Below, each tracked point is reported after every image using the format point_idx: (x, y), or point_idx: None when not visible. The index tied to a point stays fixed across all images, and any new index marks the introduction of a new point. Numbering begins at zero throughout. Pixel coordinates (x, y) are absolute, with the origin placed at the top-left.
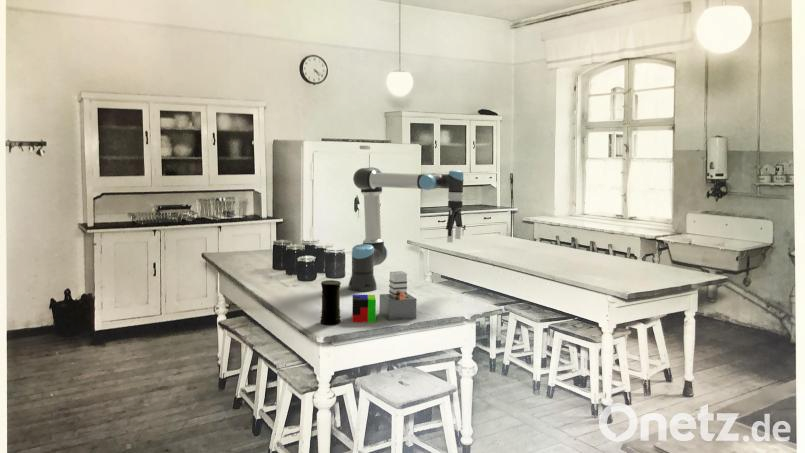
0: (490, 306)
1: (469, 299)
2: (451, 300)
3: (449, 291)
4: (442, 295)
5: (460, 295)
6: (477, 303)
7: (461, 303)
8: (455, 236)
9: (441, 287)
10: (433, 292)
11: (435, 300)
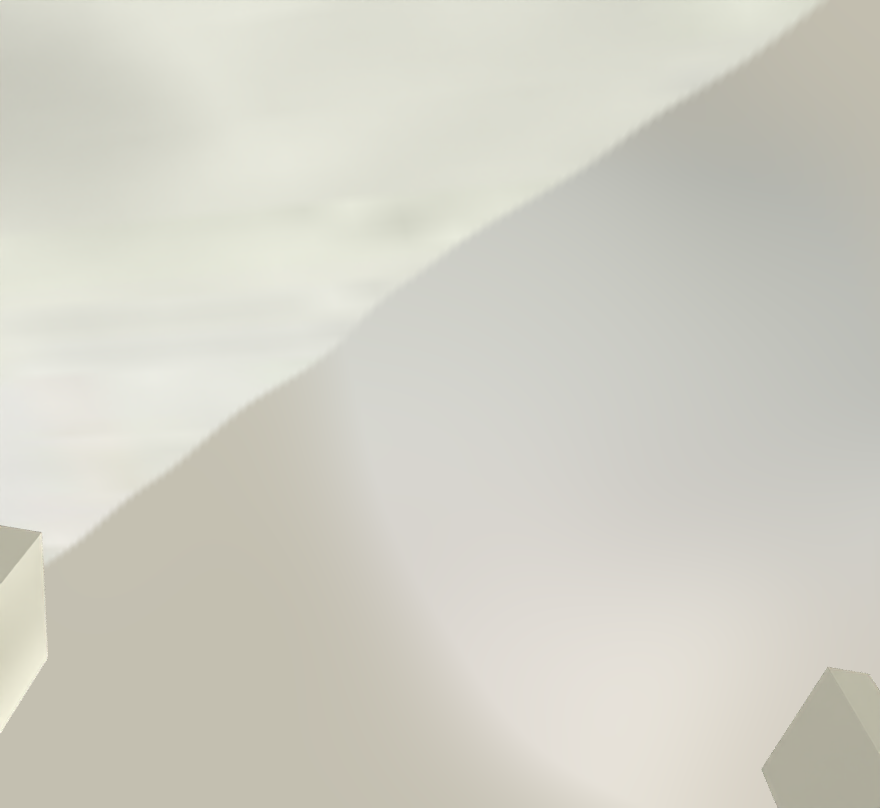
0: None
1: (202, 410)
2: (92, 261)
3: (490, 202)
4: (275, 146)
5: (335, 325)
6: (85, 476)
7: (20, 357)
8: (861, 740)
9: (687, 86)
10: (394, 19)
11: (14, 97)
